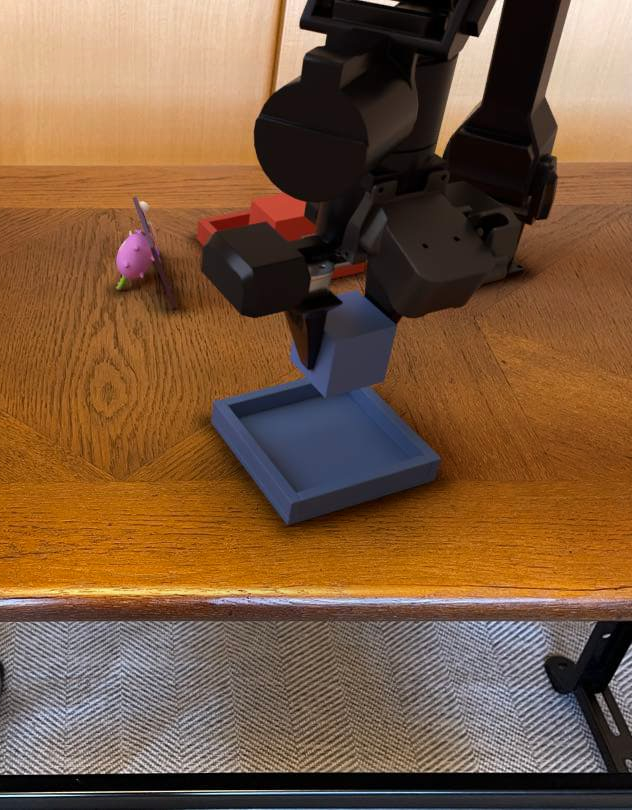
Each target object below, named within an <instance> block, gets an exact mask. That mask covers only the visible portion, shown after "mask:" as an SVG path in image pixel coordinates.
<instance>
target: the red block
mask: <svg viewBox="0 0 632 810" xmlns="http://www.w3.org/2000/svg"><path fill="white" fill-rule="evenodd" d="M305 205H306V202H304V201H300V200H297V199H294V198H293V197H291V196H289V195H287V194H285V193H284V192H282V193H279V194H274V195H267V196H263V197H258V198H253V199H251V202H250V209H251V210H250V209H249V210H250V219H249V225H250V224H255V223H260V222H265V221H267V222H268V223H269V224H270V225H271V226H272V227H273V228H274V229H275V230H276V231H278V232H279V233H280V234H281V235H282V236H283V237H284V238H285V239H286V240H287V241H292V240H297V239H301V238H302V237H303V236H306V235H311V234H315V225H314V224H313V223H312V222H311V221H309V220H308V219H307V218H306V217H305V216H304V212H305Z"/></svg>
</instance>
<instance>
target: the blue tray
mask: <svg viewBox="0 0 632 810" xmlns="http://www.w3.org/2000/svg"><path fill="white" fill-rule="evenodd" d="M210 423H211V425H212V426H213V427H214V429H215V430H216V431H217V433H218V435H219V436H221V438H222V440H223V441H224V442H225V443H226V445H227V446H228V448H229V449H230V450H231V452H232V453H233V454H234V456H235V458H237V460H238V461H239V462H240V464H241V465H242V466H243V468H244V469H245V471H247V473H248V475H249V476H250V477H251V478H252V480H253V481H254V482H255V484H256V485H257V486H258V488H259V489H260V491H261V492H262V493H263V495H264V496H265V498H266V499H267V500H268V502H269V503H270V504H271V506H272V507H273V508H274V509H275V511H276V512H277V514H278V515H279V517H281V519H282V520H283V521H284V523H285V524H286V525H287V526H291V525H294V524H297V523H301V522H304V521H308V520H312V519H315V518H318V517H321V516H324V515H327V514H330V513H333V512H336V511H340V510H343V509H346V508H350V507H354V506H356V505H360V504H363V503H366V502H370V501H372V500H373V501H374V500H376V499H379V498H382V497H386V496H389V495H392V494H396V493H399V492H402V491H406V490H409V489H412V488H416V487H418V486H422V485H425V484H429V483H432V482H435V480H436V478H437V474H438V471H439V469H440V465H441V462H442V457H441V456H440V455H439V454H438V453H437V452H436V451H435V450H434V449H433V448H432V447H431V446H430V445H428V443H427V442H426V441H425V440H424V439H423V438H422V437H421V436H420V435H419V434H418V432H416V431H415V430H414V429H413V428H412V427H411V426H410V425H409V424H408V423H407V422H406V421H405V420H404V419H403V418H402V417H401V416H400V415H399V414H398V413H397V411H395V410H394V409H393V408H392V407H391V406H390V405H389V404H388V403H387V402H386V401H385V400H384V399H383V398H382V397H381V396H380V395H379V394H378V393H377V392H376V391H375V390H374V389H373V387H371V386H368V387H364V388H361V389H357V390H353V391H350V392H346V393H343V394H339V395H336V396H332V397H329V398H325V397H324V396H323V395H322V394H321V393H320V392H319V391H318V390H317V389H316V388H315V387H314V386H313V385H312V383H311V382H310V381H309V380H308V379H307V378H306V377H303V378H299V379H296V380H291V381H288V382H283V383H280V384H276V385H272V386H267V387H263V388H261V389H257V390H252V391H249V392H245V393H244V392H243V393H241V394H238V395H233V396H229V397H226V398H221V399H216V400H213V401H212V410H211V421H210Z"/></svg>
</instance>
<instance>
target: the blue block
mask: <svg viewBox="0 0 632 810" xmlns="http://www.w3.org/2000/svg"><path fill="white" fill-rule="evenodd" d="M335 295H336V296H337V297H338V298H339V299H340V300H341V301H342V302H343V303H342V305H340V306H338V307H336V308H334V309H332V310H330V311H328V313H327V318H326V323H325V328H324V333H323V338H322V343H321V348H320V352H319V355H318V358H317V360H316V363H315V366H314V369H312V370H307V369H306V368H305V367H304V365H303V364H302V363H301V361H300V359H299V356H298V353H297V350H296V346H295V343H294V340H293V338H292V340H291V347H290V354H289V361H290V362H291V363H292V364H293V365H294V366H295V368H297V370H298V371H299V372H300V373H301V374H302V375H303V376H304V378H307V379H308V380H309V381H310V382H311V383H312V385H313V386H314V387H315V388H316V389H317V390H318V391H319V392H320V393H321V394H322V395H323V396H324V397H325V398H329V397H332V396H336V395H339V394H343V393H346V392H350V391H353V390H357V389H361V388H364V387H368V386H370V387H371V386H375V385H378V384H381V383H384V382H385V381H386V375H387V371H388V368H389V363H390V359H391V355H392V350H393V346H394V342H395V338H396V333H397V329H398V324H397V325H396V324H395V323H394V322H392V321H391V320H390V319H389V318H388V317H387V316H386V315H385V314H383V313H382V312H381V311H380V310H379V309H378V308H377V307H375V306H374V305H373V304H372V303H371V302H370V301H369V300H368V299H366V298H365V297H364V295H363V294H362V293H361V292H360V291H359V290H358V289H355V290H350V291H347V292H342V293H339V294H335Z"/></svg>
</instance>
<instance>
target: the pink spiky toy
mask: <svg viewBox="0 0 632 810" xmlns="http://www.w3.org/2000/svg"><path fill="white" fill-rule="evenodd" d="M132 201H133V204H134V207H135V210H136V213H137V215H138V219H139V221H140V224H141V227H142V228H141V229H138V228H137V229H134V232H136V233H133V232H132V231H131V230H129V233H128V237H127V238H126V239H125V240H124V241H123V242H122V244H121V245H120V246H119V249H118V251H117V255H116V263H115V264H116V269H117V271H118V272H119V274H120V275H121V278H120V279H119V282H117V286H116V287H115V289H116V290H117V291H121V290H122V288H123V287H124V286H125V284H126V283H127V282H128V280H130V281H131V280H132V281H133V280H137V279H139V278H141V279H144V273H146V271H147V270H148V269H149V267H150V266H151V265H152V263H153V262H154V263H155V265H156V268H157V271H158V274H159V276H160V279H161V282H162V284H163V287H164V290H165V292H166V295H167V298H168V301H169V303H170V306H171V309H172V310H174V309H177V305H176V303H175V300H174V297H173V296H174V295H173V294H172V291H171V287H170V286H169V283H168V280H167V277H166V275H165V272H164V269H163V266H162V264H163V262H162V260H161V258H160V257H159V255H160V249H159V246H158V244H157V242H158V239H157V236H156V233H155V230H154V228H153V224H152V222H151V220H150V219H149V220H147V217H148V216H147V215H148V213H149V212H150V206H149V204H148V203H147V202H146V201H143V200H141V201H139V200H138V197H137V196H134V197H132Z"/></svg>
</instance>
